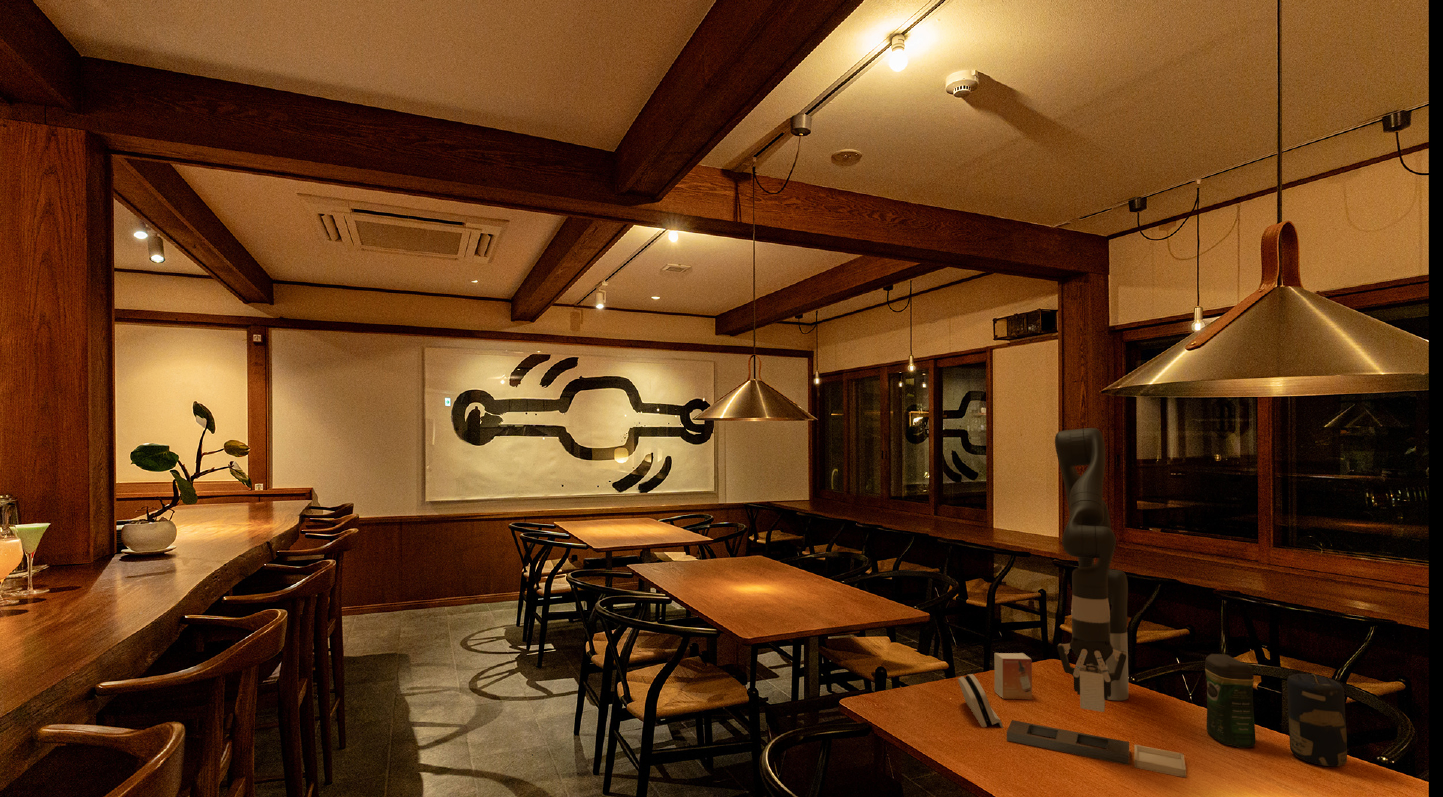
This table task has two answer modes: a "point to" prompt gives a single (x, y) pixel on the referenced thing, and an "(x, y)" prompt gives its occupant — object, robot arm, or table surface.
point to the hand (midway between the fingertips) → (1092, 695)
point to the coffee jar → (1230, 701)
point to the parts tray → (1160, 761)
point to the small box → (1013, 675)
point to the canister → (1317, 719)
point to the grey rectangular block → (1092, 688)
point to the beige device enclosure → (978, 701)
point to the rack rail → (1069, 742)
